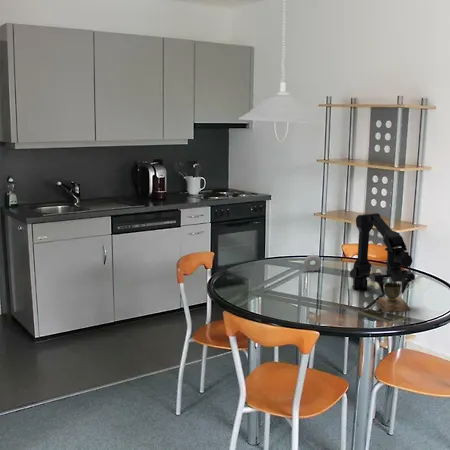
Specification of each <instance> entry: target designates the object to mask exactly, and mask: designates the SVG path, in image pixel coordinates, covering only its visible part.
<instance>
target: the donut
mask: <svg viewBox="0 0 450 450" xmlns="http://www.w3.org/2000/svg"><path fill="white" fill-rule="evenodd" d="M312 261H314V264H313V265H311V262H312ZM321 265H322V259H321V257H320V256H319V255H316V254H309V255H307V256H306V257H305V258H304V261H303V266H304V268H305V269H306V270H307V271H309V272H312V273H313V272H317V271H318V270H319V269H320V268H321Z"/></svg>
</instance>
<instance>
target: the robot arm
mask: <svg viewBox="0 0 450 450" xmlns="http://www.w3.org/2000/svg"><path fill="white" fill-rule="evenodd" d="M355 225H356V226H355V227H356V228H357V230H358V245H357V257H356V259H355V261H354V263H353V266H352V269H351V270H350V272H349V276H350V278H352V286H351V288H352V289H353V290H354V291H367V290H368V278H370V275H371V280H372V281H374V282H375V283H377V284H378V286H379V289H380V291H381V295H382V296H384V295H385V287H384V284H385V282H384V280H385V279H391V280H392V281H391V282H392V283H394V282H395V283H399V282H400V283H401V288H400V292H401V294H404V293H405V290H406V288H407V286H408V284H409V283H411V282H412V281H415V280H416V275H415V273H414V272H412V271H411V270H407V269H406V270H402V267H403V268H409V267H410V266H411V265H412V263H413V258H412V256H411V255H410V254H409V251H408V248H407V245H406V243H405V240H404V238H403V236H402V235H401V234H400V233H398V231H394V230H392V228H391V227H389V225H388V224H387V223H386V222H385V221H384V219H383V218H382V217H381V215H380V213H377V212H375V213H364V214H358V215H357V216H356V217H355ZM374 227H375V229H376V231H377V232H378V233H379V234H380V235H381V236H382V241H383V243H384V245H385V246H386V247H385V248H384V250H385V251H387V254H386V263H385V264H386V270H385V273H386V274H382V273H381V272H372V273H371V271H372V263H370V261H369V259H368V258H369V257H368V256H369V242H370V241H369V240H370V233H371V230H372V229H373V228H374Z"/></svg>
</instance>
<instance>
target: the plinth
mask: <svg viewBox="0 0 450 450" xmlns="http://www.w3.org/2000/svg"><path fill="white" fill-rule="evenodd" d="M375 303H376V304H377V306H378V307H379V308H380V310H381V311H382V312H383V313H389V312H405V311H407V312H408V311H410V308H411V307H410V306H409V305H408V304H407V302H406V301H404V299H403V298H402V297H400V295H399V296H398V297H397V298H396V301H389V300H388V297H387V296H385V297H384V296H383V297H378V299H376V300H375Z"/></svg>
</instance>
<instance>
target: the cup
mask: <svg viewBox="0 0 450 450" xmlns="http://www.w3.org/2000/svg"><path fill="white" fill-rule="evenodd" d="M383 286H384V295H385V297H388V300H389V301H396V298H397V297H399V296H400V293H401V287H402V283H399V282H393V281H391V282H389V281H388V282H384V284H383Z"/></svg>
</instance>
